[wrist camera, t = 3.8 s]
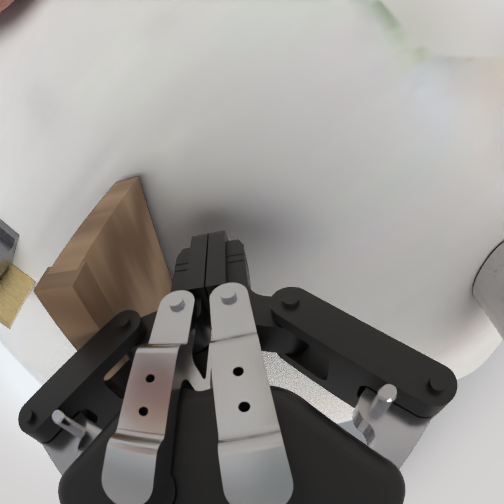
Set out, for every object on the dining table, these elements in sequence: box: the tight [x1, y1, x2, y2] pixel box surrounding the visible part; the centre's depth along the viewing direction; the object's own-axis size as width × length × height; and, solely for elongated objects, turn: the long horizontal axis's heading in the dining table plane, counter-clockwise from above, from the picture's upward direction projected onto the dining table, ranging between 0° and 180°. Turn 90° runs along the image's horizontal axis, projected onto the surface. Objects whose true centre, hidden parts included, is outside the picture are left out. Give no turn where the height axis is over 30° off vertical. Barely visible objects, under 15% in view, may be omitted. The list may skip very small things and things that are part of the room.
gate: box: [34, 177, 213, 388], centre depth 16 cm, size 20×2×10 cm, turn 6°
